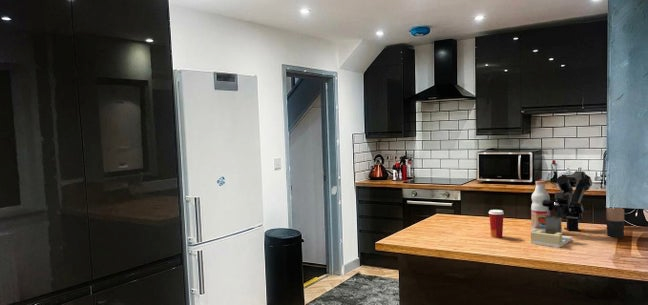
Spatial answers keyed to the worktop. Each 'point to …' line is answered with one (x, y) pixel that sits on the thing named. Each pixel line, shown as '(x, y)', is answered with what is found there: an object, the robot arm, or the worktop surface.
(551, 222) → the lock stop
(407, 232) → the worktop surface
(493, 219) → the paper cup
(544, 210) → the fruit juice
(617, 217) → the travel mug
